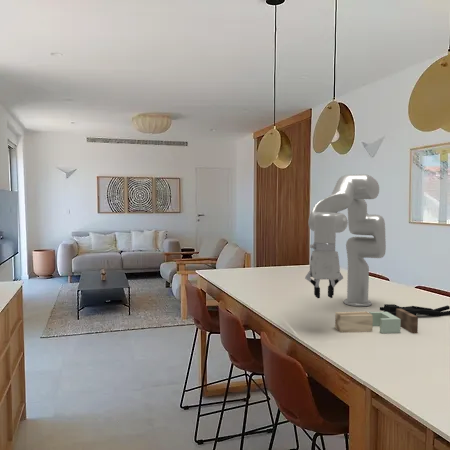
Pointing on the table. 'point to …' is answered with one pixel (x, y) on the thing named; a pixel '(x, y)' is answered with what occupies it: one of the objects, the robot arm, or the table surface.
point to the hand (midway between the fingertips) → (323, 296)
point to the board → (407, 320)
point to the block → (386, 322)
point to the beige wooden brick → (353, 321)
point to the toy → (416, 310)
